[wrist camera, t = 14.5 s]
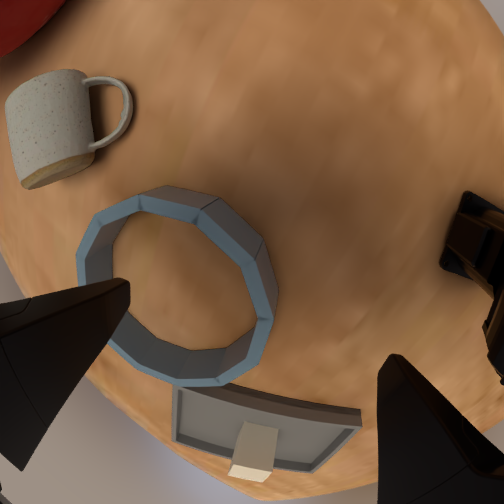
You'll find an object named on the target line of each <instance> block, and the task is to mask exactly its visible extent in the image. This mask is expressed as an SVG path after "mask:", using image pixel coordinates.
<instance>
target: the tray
mask: <svg viewBox="0 0 504 504" xmlns="http://www.w3.org/2000/svg"><path fill="white" fill-rule="evenodd" d="M244 421H245V422H249V423H254V424H258V425H262V426H267V427H271V428H276V429H278V437H277V444H276V451H275V457H274V464H273V468H274V469H280V470H286V471H294V472H302V473H312V474H313V473H314V472H315V471H316V470H317V469H319V468H320V467H321V466H322V465H323V464H324V463H326V462H327V461H328V460H329V459H330V458H331V457H332V456H333V455H334V454H336V453H337V452H338V451H339V450H340V449H341V448H342V447H343V446H344V445H345V444H346V443H347V442H348V441H349V440H350V439H351V438H352V437H353V436H354V435H355V434H356V433H357V432H358V431H359V430H360V429H361V428H362V419H361V411H360V409H352V408H344V407H337V406H330V405H324V404H318V403H312V402H306V401H301V400H296V399H291V398H286V397H282V396H277V395H273V394H268V393H264V392H260V391H256V390H252V389H249V388H245V387H241V386H238V385H234V384H230V383H227V384H225V385H224V386H223V385H222V386H209V387H179V386H176V385H173V392H172V441H173V442H176V443H178V444H181V445H184V446H187V447H190V448H193V449H196V450H199V451H202V452H206V453H209V454H212V455H216V456H219V457H223V458H227V459H231V460H232V457H233V453H234V449H235V446H236V442H237V438H238V435H239V433H240V430H241V428H242V426H243V424H244Z"/></svg>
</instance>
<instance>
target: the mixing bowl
mask: <svg viewBox="0 0 504 504" xmlns="http://www.w3.org/2000/svg"><path fill="white" fill-rule="evenodd" d="M65 1H66V0H0V57H2V56H4V55H6V54H8V53H10V52H12V51H13V50H15V49H16V48H18V47H19V46H20V45H22V44H23V43H24V42H25V41H27V40H28V39H29V38H30V37H31V36H32V35H33V34H34V33H35V32H37V31H38V30H39V29H40V28H42V27H43V26H44V25H45V24H46V23H47V22H48V21H49V20H50V19H51V18H52V17H53V15H54V14H55V13H56V12H57V11H58V10H59V9H60V7H61V6H62V5H63V4H64V2H65Z"/></svg>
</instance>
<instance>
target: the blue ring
mask: <svg viewBox="0 0 504 504" xmlns="http://www.w3.org/2000/svg"><path fill="white" fill-rule="evenodd" d="M140 210H142V211H146V212H149V213H153V214H157V215H161V216H165V217H169V218H173V219H176V220H180V221H184V222H188V223H192V224H194V225H196V226H197V227H198V228H199V229H200V230H201V231H202V232H203V233H204V234H205V235H206V236H207V237H208V238H209V239H210V240H211V241H213V242H214V243H215V244H216V245H217V246H218V247H219V248H220V249H221V250H222V251H223V252H224V253H225V254H227V255H228V256H229V257H230V258H231V259H232V260H233V261H234V262H235V263H236V264H237V265H238V266H239V267H240V268H241V271H242V273H243V276H244V279H245V282H246V285H247V288H248V291H249V294H250V297H251V300H252V303H253V305H254V308H255V311H256V314H257V317H258V318H257V321H256V324H255V327H254V328H253V329H251V330H250V331H249V332H247V333H246V334H245V335H243V336H242V337H241V338H239V339H238V340H237V341H235V342H234V343H233V344H231V345H230V346H229V347H227V348H220V349H209V350H197V351H190V350H187V349H185V348H182V347H179V346H176V345H173V344H171V343H168V342H165V341H163V340H160V339H157V338H156V337H155V336H154V335H153V334H151V333H150V332H149V331H148V330H147V329H146V328H145V327H144V326H142V325H141V324H140V323H139V322H138V321H137V320H136V319H135V318H134V317H133V316H132V315H130V314H129V312H128V310H127V311H126V313H125V315H124V316H123V318H122V320H121V321H120V323H119V325H118V326H117V328H116V330H115V332H114V333H113V335H112V337H111V338H110V340H109V341H108V343H107V344H108V345H109V346H110V347H112V348H113V349H114V350H115V351H116V352H117V353H118V354H119V355H120V356H122V357H123V358H124V359H125V360H126V361H127V362H128V363H130V364H131V365H132V366H133V367H134V368H136V369H137V370H139V371H141V372H144V373H146V374H148V375H151V376H153V377H156V378H158V379H160V380H163V381H166V382H168V383H171V384H173V385H176V386H179V387H209V386H222V385H223V386H224V385H225V384H227V383H229V382H230V381H232V380H234V379H235V378H237V377H239V376H240V375H242V374H244V373H245V372H247V371H249V370H250V369H252V368H253V367H255V366H257V365H258V364H259V362H260V359H261V356H262V353H263V350H264V348H265V345H266V342H267V339H268V336H269V333H270V330H271V328H272V325H273V322H274V317H275V311H276V305H277V299H278V293H279V289H278V285H277V282H276V278H275V275H274V272H273V268H272V265H271V262H270V258H269V255H268V252H267V248H266V245H265V242H264V239H263V238H262V237H261V236H260V235H259V234H258V233H257V232H256V231H255V230H254V229H253V228H252V227H251V226H250V225H249V224H248V223H247V222H246V221H244V220H243V219H242V218H241V217H240V216H239V215H238V214H237V213H236V212H235V211H234V210H233V209H232V208H231V207H230V206H229V205H227V204H226V203H225V202H224V201H223V200H222V199H221V198H219V197H216V196H212V195H208V194H203V193H199V192H195V191H190V190H186V189H182V188H177V187H172V186H168V185H167V186H163V187H159V188H156V189H153V190H150V191H147V192H144V193H141V194H138V195H136V196H133V197H131V198H129V199H126V200H124V201H122V202H120V203H117V204H115V205H113V206H111V207H109V208H107V209H105V210H102V211H100V212H98V213H96V214H95V215H94V216H93V218H92V220H91V222H90V224H89V226H88V228H87V230H86V232H85V234H84V236H83V239H82V241H81V243H80V245H79V247H78V249H77V252H76V265H77V277H78V287H79V286H83V285H88V284H92V283H96V282H101V281H105V280H110V279H112V243H113V241H114V240H115V238H116V236H117V235H118V233H119V231H120V230H121V228H122V226H123V225H124V223H125V222H126V220H127V218H128V217H129V215H130V214H132V213H135V212H137V211H140Z"/></svg>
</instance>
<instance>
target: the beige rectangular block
mask: <svg viewBox="0 0 504 504" xmlns="http://www.w3.org/2000/svg"><path fill="white" fill-rule="evenodd" d="M277 437H278V429H276V428H271V427H267V426H262V425H258V424H254V423H249V422H245V421H244V424H243V426H242V428H241V430H240V433H239V435H238V438H237V442H236V446H235V449H234V453H233V457H232V461H231V464H230V468H229V472H228V475H229V476H233V477H238V478H242V479H247V480H252V481H257V482H263V481H264V480H265V479H266V478H267V477H268V476H269V475H270V474H271V473H272V470H273V464H274V457H275V451H276V444H277Z"/></svg>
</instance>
